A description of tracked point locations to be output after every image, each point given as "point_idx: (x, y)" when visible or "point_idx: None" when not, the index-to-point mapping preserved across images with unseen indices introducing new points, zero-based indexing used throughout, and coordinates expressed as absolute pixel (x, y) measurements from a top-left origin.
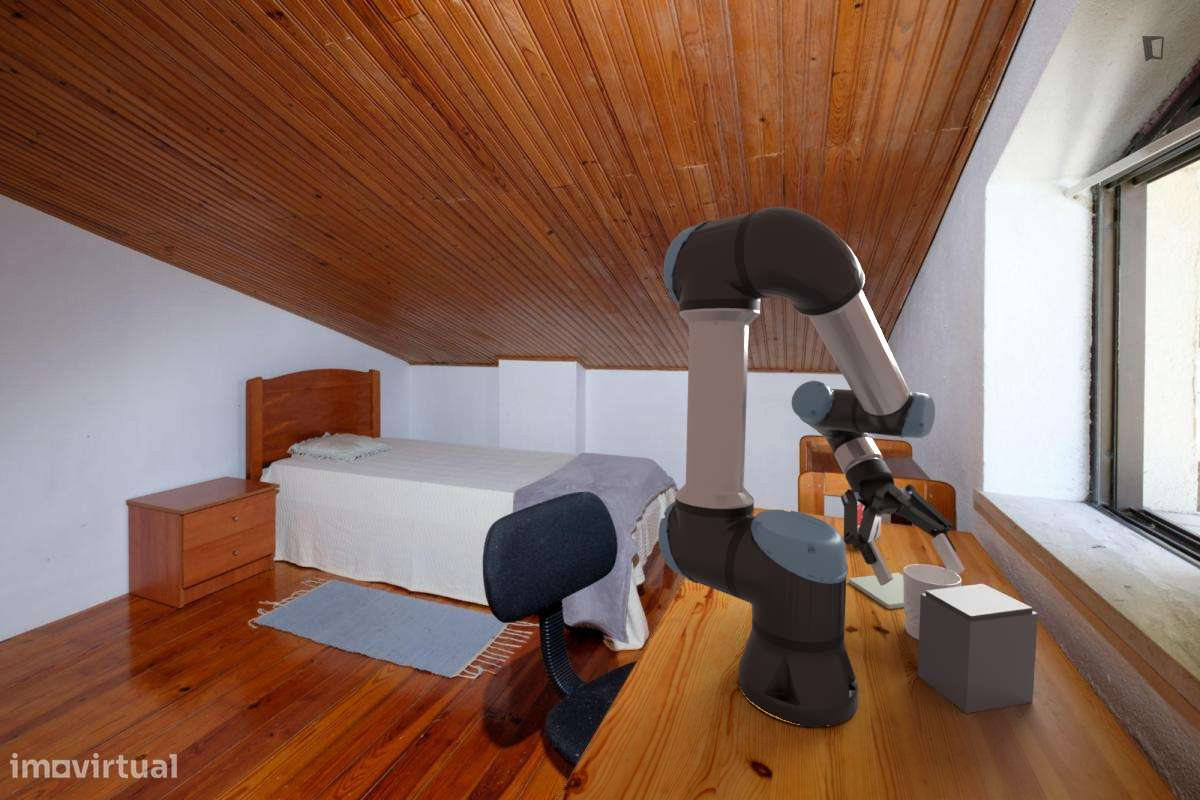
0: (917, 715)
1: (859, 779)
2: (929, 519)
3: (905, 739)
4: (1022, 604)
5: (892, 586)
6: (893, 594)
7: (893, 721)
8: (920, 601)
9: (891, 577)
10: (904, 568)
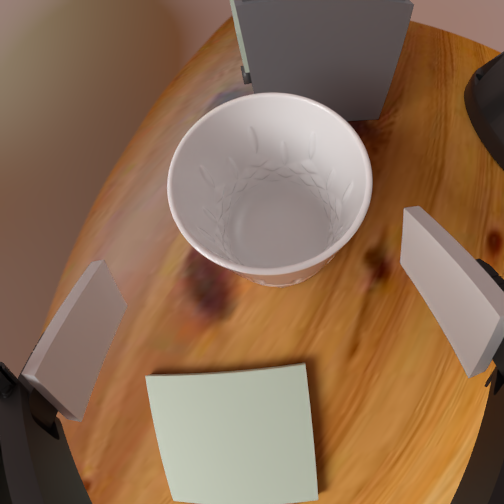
0: (406, 67)
1: (464, 41)
2: (12, 454)
3: (426, 52)
4: None
5: (231, 453)
6: (256, 416)
7: (432, 68)
8: (410, 17)
9: (410, 210)
10: (351, 230)
